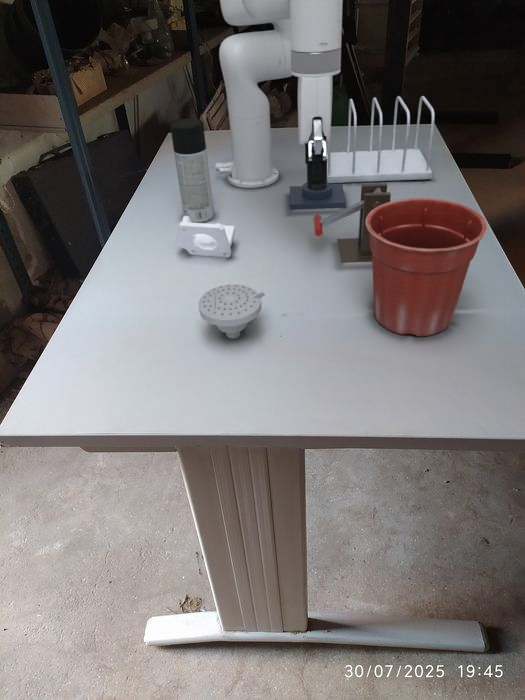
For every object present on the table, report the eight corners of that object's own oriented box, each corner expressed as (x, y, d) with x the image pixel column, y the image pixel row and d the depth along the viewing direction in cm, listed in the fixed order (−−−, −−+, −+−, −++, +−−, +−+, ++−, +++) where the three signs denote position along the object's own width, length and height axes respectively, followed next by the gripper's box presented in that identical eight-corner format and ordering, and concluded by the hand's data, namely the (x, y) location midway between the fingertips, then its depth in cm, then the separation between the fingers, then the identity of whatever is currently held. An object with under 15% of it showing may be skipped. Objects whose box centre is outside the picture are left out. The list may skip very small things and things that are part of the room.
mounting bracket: (176, 259, 108) (159, 224, 99) (184, 234, 111) (168, 197, 101) (233, 264, 105) (222, 228, 96) (240, 238, 108) (229, 201, 99)
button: (309, 191, 117) (309, 183, 116) (308, 185, 120) (308, 177, 119) (325, 190, 117) (325, 183, 116) (324, 184, 120) (324, 176, 119)
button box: (290, 214, 117) (289, 196, 115) (289, 195, 125) (289, 178, 123) (345, 211, 117) (346, 194, 114) (341, 193, 125) (342, 176, 122)
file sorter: (418, 155, 141) (426, 91, 131) (431, 181, 127) (441, 111, 118) (321, 159, 143) (322, 96, 133) (324, 184, 129) (326, 116, 119)
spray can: (219, 213, 120) (209, 118, 107) (204, 226, 115) (192, 129, 103) (194, 209, 122) (181, 116, 110) (178, 221, 117) (162, 126, 105)
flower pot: (352, 339, 82) (358, 244, 72) (365, 283, 94) (372, 194, 84) (466, 353, 78) (490, 254, 68) (465, 292, 90) (484, 200, 80)
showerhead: (267, 309, 76) (197, 316, 76) (269, 349, 81) (203, 356, 81) (261, 275, 84) (197, 281, 83) (264, 314, 88) (203, 319, 88)
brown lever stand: (340, 267, 99) (343, 201, 91) (336, 244, 106) (339, 180, 98) (407, 265, 98) (415, 198, 90) (398, 242, 105) (406, 177, 97)
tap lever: (317, 239, 97) (312, 228, 96) (316, 225, 102) (311, 214, 100) (387, 208, 93) (382, 196, 91) (382, 194, 97) (377, 182, 96)
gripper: (290, 53, 89) (292, 157, 99) (291, 75, 75) (294, 193, 86) (336, 50, 88) (333, 155, 99) (345, 72, 75) (341, 191, 85)
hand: (315, 173), depth 92 cm, fingers open, 9 cm apart
